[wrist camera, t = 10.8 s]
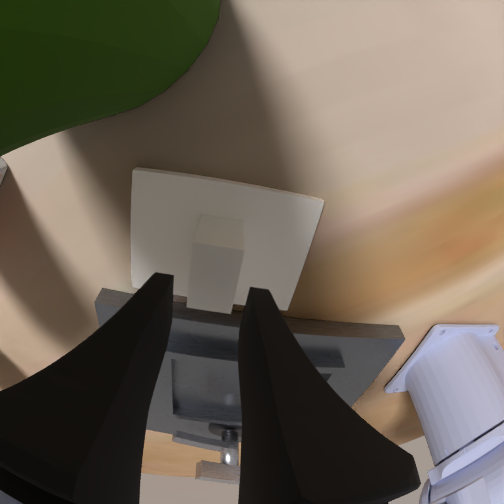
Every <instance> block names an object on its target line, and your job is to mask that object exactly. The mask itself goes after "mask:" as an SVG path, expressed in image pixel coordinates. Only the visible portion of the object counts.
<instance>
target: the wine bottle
mask: <svg viewBox="0 0 504 504" xmlns="http://www.w3.org/2000/svg"><path fill="white" fill-rule="evenodd" d="M220 2H221V0H0V156H2V155H4V154H6V153H8V152H11V151H13V150H15V149H17V148H20V147H22V146H24V145H27V144H29V143H31V142H34V141H36V140H39V139H41V138H44V137H47V136H49V135H52V134H55V133H58V132H60V131H63V130H66V129H69V128H72V127H75V126H78V125H82V124H85V123H88V122H91V121H95V120H98V119H102V118H105V117H109V116H113V115H116V114H118V113H121V112H124V111H127V110H130V109H133V108H136V107H139V106H141V105H142V104H144V103H145V102H147V101H149V100H150V99H152V98H154V97H155V96H157V95H159V94H161V93H162V92H164V91H165V90H166V89H168V88H169V87H170V86H171V85H172V84H173V83H174V82H175V81H176V80H177V79H178V78H180V77H181V76H182V75H183V74H184V73H185V72H186V71H188V70H189V68H190V67H191V65H192V64H193V63H194V61H195V60H196V59H197V57H198V56H199V55H200V53H201V52H202V51H203V49H204V48H205V47H206V45H207V43H208V41H209V38H210V36H211V34H212V32H213V29H214V27H215V25H216V23H217V20H218V17H219V9H220Z"/></svg>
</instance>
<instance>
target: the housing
mask: <svg viewBox="0 0 504 504" xmlns="http://www.w3.org/2000/svg"><path fill="white" fill-rule="evenodd" d="M133 295H134V294H129V293H124V292H119V291H114V290H109V289H104V288H102V290H101V291H100V293H99V295H98V297H97V298H96V300H95V307H96V312H97V317H98V322H99V326H100V327H101V326H102V325H103V324H104V323H105V322H106V321H108V320H109V319H110V318H111V317H112V316H113V315H114V314H115V313H116V312H117V311H118V310H119V309H120V308H121V307H122V306H123V305H124V304H125V303H126V302H127V301H128V300H129V299H130V298H131V297H132V296H133ZM186 306H187V304H185V303H179V302H173V315H172V325H171V330H170V335H169V340H168V345H167V349H166V352H165V355H164V359H163V362H162V365H161V369H160V372H159V375H158V379H157V382H156V385H155V389H154V392H153V396H152V399H151V404H150V408H149V413H148V419H147V425H146V429H148V430H152V431H158V432H163V433H168V434H174V433H175V432H176V431H177V430H178V431H182V432H186V433H190V434H194V435H198V436H202V437H207V438H212V439H217V440H221V433H222V432H223V431H226V430H233V431H237V432H238V442H241V437H242V412H241V399H240V385H239V371H238V340H239V328H240V324H241V320H242V316H243V312H239V311H231V314H227V313H220V312H213V311H206V310H200V309H194V308H187V307H186ZM284 319H285V321H286V323H287V325H288V326H289V328H290V330H291V331H292V333H293V335H294V336H295V338H296V340H297V341H298V343H299V344H300V346H301V348H302V349H303V351H304V352H305V353H306V355H307V356H308V358H309V359H310V361H311V362H312V363H313V365H314V366H315V368H316V369H317V370H318V371H319V373H320V374H321V375H322V377H323V378H324V379H325V380H326V381H327V383H328V384H329V385H330V386H331V387H332V388H333V390H334V391H335V392H336V393H337V394H338V395H339V396H340V397H341V398H342V399H343V400H344V401H345V402H346V403H347V404H348V405H349V406H350V407H351V406H352V405H353V404H354V403H355V402H356V400H357V399H358V398H359V397H360V396H361V395H362V394H363V393H364V391H365V390H366V389H367V388H368V387H369V385H370V384H371V383H372V382H373V381H374V379H375V378H376V377H377V376H378V375H379V373H380V372H381V371H382V370H383V368H384V367H385V366H386V364H387V363H388V362H389V361H390V359H391V358H392V357H393V355H394V354H395V353H396V351H397V350H398V349H399V347H400V346H401V344H402V343H403V342H404V340H405V337H404V335H403V333H402V331H401V329H400V327H399V326H395V325H375V324H359V323H345V322H332V321H321V320H310V319H299V318H290V317H284Z"/></svg>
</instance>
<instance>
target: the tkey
mask: <svg viewBox="0 0 504 504" xmlns="http://www.w3.org/2000/svg"><path fill="white" fill-rule="evenodd" d="M172 441H174V442H178V443H182V444H186V445H190V446H195V447H199V448H204V449H209V450H214V451H220V452H221V463H215V462H209V461H203V460H201V461H200V462H198V463H196V479H200V480H207V481H213V482H220V483H228V484H238V485H239V484H240V466H239V449H238V432H237V431H233V430H226V431H223V432H222V433H221V440H217V439H212V438H207V437H202V436H198V435H194V434H190V433H186V432H182V431H178V430H177V431H176V432H175V433H174V434H173V438H172Z"/></svg>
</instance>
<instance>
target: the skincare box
mask: <svg viewBox="0 0 504 504" xmlns="http://www.w3.org/2000/svg"><path fill="white" fill-rule="evenodd" d="M6 170H7V163H6V162H5V161H4V160H3V159H2V158H1V157H0V185H1V182H2V180H3V177H4V175H5V172H6Z"/></svg>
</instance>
